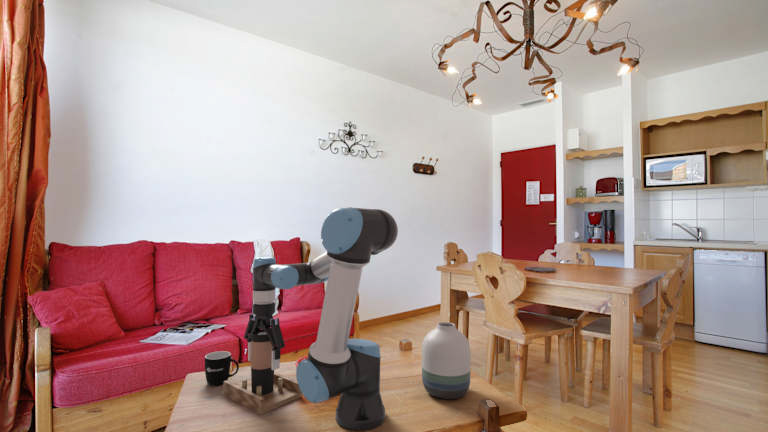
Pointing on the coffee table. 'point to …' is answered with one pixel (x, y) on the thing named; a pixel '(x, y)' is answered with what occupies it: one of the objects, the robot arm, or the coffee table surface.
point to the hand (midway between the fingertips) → (263, 364)
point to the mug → (218, 367)
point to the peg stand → (259, 403)
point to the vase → (446, 362)
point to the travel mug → (261, 362)
